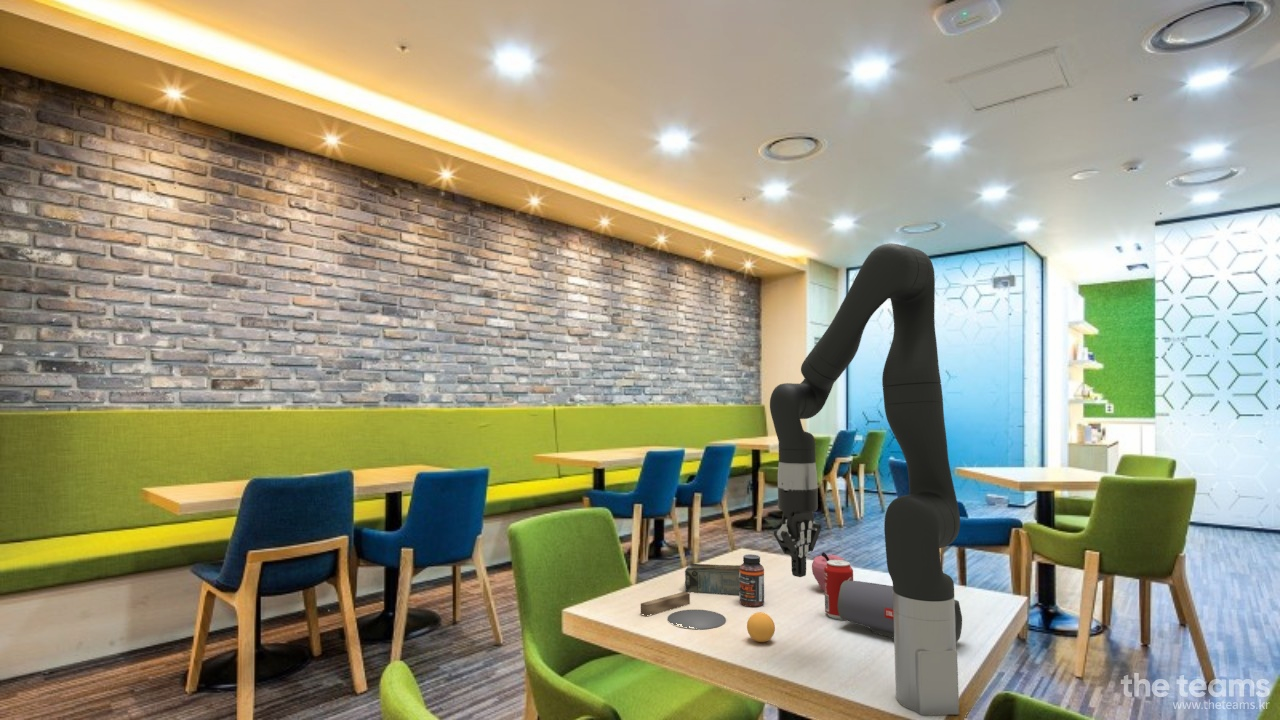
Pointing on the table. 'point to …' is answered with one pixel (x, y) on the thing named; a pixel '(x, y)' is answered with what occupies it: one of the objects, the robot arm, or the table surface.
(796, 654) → the table surface
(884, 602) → the bluetooth speaker
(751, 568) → the supplement bottle
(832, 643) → the table surface
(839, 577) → the beverage can
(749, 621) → the ball
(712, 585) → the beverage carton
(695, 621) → the mark
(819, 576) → the apple
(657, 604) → the wooden bar
